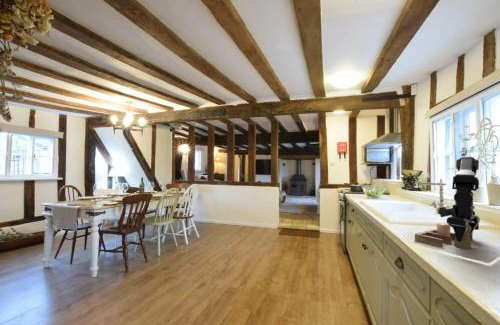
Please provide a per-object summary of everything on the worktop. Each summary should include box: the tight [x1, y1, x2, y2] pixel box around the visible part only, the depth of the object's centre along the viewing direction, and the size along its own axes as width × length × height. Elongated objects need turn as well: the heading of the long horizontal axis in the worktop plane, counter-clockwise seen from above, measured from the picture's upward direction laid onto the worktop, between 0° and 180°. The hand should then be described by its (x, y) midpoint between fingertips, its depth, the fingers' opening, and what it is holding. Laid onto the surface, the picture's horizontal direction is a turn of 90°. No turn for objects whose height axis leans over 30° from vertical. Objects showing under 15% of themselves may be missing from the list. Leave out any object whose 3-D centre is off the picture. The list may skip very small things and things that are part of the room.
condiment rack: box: [414, 228, 456, 248], centre depth 113 cm, size 20×10×4 cm, turn 124°
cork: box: [453, 225, 473, 251], centre depth 104 cm, size 6×6×11 cm
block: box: [436, 222, 451, 236], centre depth 115 cm, size 5×5×7 cm
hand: (462, 239), depth 104 cm, fingers open, 9 cm apart
